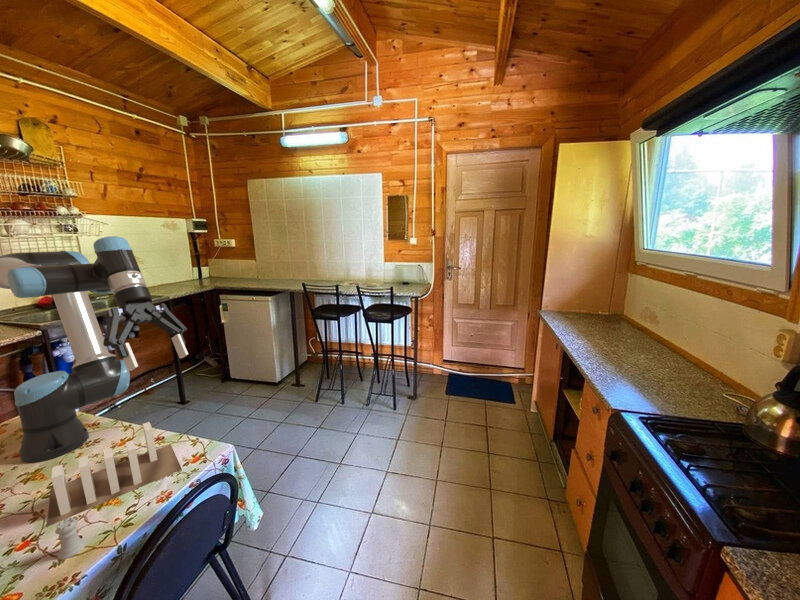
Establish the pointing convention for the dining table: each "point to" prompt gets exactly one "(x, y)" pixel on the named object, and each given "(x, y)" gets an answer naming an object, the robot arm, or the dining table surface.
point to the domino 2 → (87, 480)
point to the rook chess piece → (69, 539)
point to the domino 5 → (150, 441)
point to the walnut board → (148, 472)
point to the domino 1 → (61, 489)
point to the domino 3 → (111, 470)
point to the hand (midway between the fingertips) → (160, 362)
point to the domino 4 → (133, 462)
